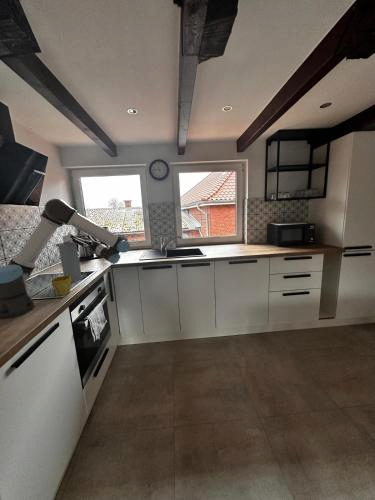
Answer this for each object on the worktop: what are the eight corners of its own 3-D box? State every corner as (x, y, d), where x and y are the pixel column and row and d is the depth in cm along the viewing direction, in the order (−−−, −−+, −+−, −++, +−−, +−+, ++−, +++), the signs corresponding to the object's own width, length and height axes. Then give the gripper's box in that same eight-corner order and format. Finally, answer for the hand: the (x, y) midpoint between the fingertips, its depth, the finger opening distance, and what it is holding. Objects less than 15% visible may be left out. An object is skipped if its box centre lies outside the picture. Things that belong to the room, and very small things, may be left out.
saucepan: (89, 241, 143) (88, 234, 142) (79, 243, 135) (78, 236, 134) (71, 241, 149) (70, 234, 148) (60, 243, 141) (59, 236, 140)
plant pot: (51, 298, 118) (48, 282, 116) (57, 291, 128) (54, 276, 126) (70, 295, 121) (68, 279, 119) (75, 289, 131) (72, 274, 129)
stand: (84, 277, 153) (78, 241, 147) (72, 282, 144) (66, 243, 138) (74, 277, 156) (67, 241, 151) (62, 281, 147) (55, 243, 141)
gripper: (84, 257, 127) (59, 239, 131) (108, 249, 148) (85, 235, 152) (88, 247, 125) (61, 229, 129) (111, 241, 145) (88, 226, 149)
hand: (74, 232), depth 140 cm, fingers open, 9 cm apart
